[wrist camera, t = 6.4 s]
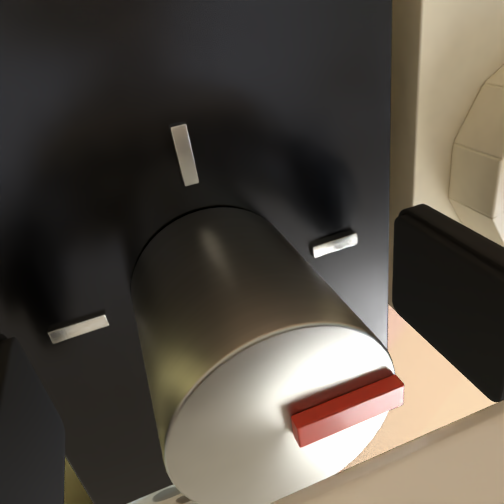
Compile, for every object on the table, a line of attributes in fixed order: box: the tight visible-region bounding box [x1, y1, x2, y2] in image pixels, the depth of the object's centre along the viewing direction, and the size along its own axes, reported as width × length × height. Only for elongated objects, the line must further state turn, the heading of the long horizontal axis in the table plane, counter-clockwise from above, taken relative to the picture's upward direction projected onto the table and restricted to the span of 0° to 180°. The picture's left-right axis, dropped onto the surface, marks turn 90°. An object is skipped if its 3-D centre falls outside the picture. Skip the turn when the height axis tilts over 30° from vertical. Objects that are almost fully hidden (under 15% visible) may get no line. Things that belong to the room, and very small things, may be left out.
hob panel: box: [0, 0, 392, 504], centre depth 13 cm, size 15×11×3 cm
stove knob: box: [131, 207, 404, 504], centre depth 10 cm, size 4×4×5 cm
